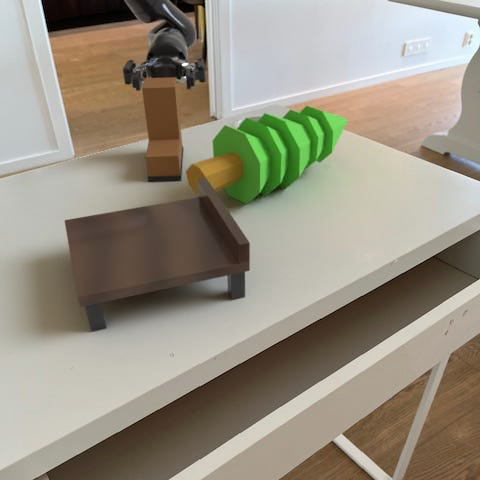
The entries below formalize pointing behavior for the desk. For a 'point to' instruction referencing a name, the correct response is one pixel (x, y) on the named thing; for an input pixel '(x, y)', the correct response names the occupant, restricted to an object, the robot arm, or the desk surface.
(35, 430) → the desk surface
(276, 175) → the decorative tree
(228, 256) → the shoe shelf
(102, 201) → the desk surface
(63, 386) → the desk surface
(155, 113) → the boot
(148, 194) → the desk surface
